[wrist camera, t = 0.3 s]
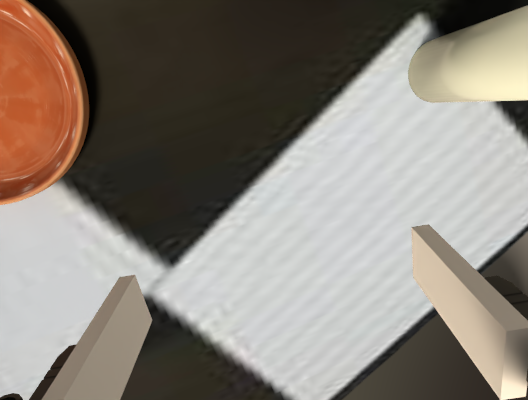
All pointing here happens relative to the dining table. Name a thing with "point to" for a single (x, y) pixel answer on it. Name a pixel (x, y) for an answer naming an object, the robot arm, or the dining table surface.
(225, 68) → the dining table surface
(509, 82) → the bottle
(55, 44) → the saucer
